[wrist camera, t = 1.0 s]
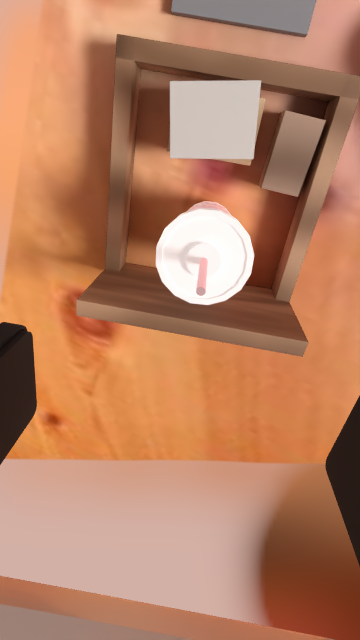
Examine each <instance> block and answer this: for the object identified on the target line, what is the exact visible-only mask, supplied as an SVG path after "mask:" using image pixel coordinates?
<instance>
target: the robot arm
mask: <svg viewBox="0 0 360 640" xmlns="http://www.w3.org/2000/svg"><path fill="white" fill-rule="evenodd" d="M36 407H37V400H36V384H35V368H34V352H33V337H32V333H31V332H28V331H27V329H26V327H25V326H23V325H18V324H12V323H7V322H2V323H0V464H1V463H2V461H3V460H4V459H5V457H6V456H7V454H8V453H9V451H10V450H11V448H12V447H13V445H14V444H15V443H16V441H17V440H18V438H19V437H20V435H21V434H22V432H23V431H24V429H25V428H26V426H27V425H28V424H29V422H30V421H31V419H32V418H33V416H34V414H35V411H36ZM326 471H327V474H328V477H329V480H330V482H331V485H332V488H333V491H334V494H335V497H336V500H337V503H338V506H339V508H340V511H341V514H342V517H343V520H344V523H345V526H346V528H347V531H348V534H349V537H350V540H351V543H352V545H353V548H354V551H355V554H356V557H357V560H358V563H359V565H360V396H359V398H358V400H357V402H356V404H355V405H354V407H353V409H352V411H351V413H350V415H349V417H348V419H347V421H346V423H345V424H344V426H343V428H342V430H341V432H340V434H339V436H338V438H337V440H336V442H335V443H334V445H333V447H332V449H331V451H330V453H329V455H328V457H327V459H326ZM0 640H334V639H329V638H324V637H319V636H314V635H309V634H304V633H298V632H294V631H289V630H283V629H279V628H273V627H268V626H263V625H257V624H253V623H247V622H242V621H237V620H232V619H227V618H221V617H216V616H210V615H205V614H200V613H195V612H190V611H184V610H179V609H174V608H169V607H163V606H158V605H153V604H148V603H143V602H137V601H132V600H127V599H122V598H116V597H111V596H106V595H100V594H95V593H90V592H84V591H79V590H73V589H68V588H62V587H57V586H51V585H46V584H41V583H35V582H30V581H25V580H19V579H13V578H8V577H2V576H0Z"/></svg>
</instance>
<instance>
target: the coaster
mask: <svg viewBox="0 0 360 640" xmlns="http://www.w3.org/2000/svg"><path fill="white" fill-rule="evenodd" d="M315 3H316V0H172V8H171V12H172V15H178V16H184V17H190V18H196V19H201V20H207V21H213V22H219V23H225V24H231V25H237V26H242V27H248V28H254V29H260V30H266V31H272V32H278V33H283V34H289V35H295V36H301V37H306V35H307V34H308V30H309V26H310V22H311V18H312V14H313V11H314V7H315Z"/></svg>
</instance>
